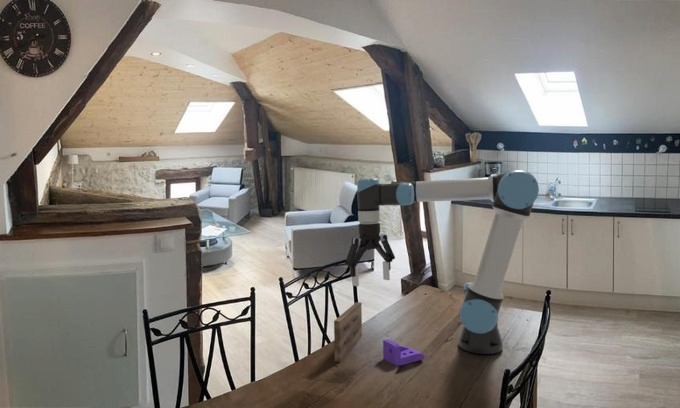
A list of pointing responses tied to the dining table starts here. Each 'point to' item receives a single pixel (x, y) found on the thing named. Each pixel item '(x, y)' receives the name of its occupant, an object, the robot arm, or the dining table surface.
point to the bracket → (399, 353)
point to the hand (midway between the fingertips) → (371, 282)
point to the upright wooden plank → (347, 331)
